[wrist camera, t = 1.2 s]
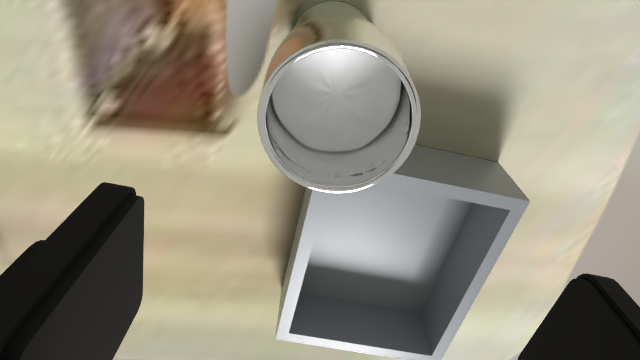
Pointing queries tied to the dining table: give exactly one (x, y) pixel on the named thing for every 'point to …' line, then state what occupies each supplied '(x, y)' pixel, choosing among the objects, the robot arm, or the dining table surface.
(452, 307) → the box
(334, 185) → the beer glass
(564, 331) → the robot arm
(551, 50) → the dining table surface
